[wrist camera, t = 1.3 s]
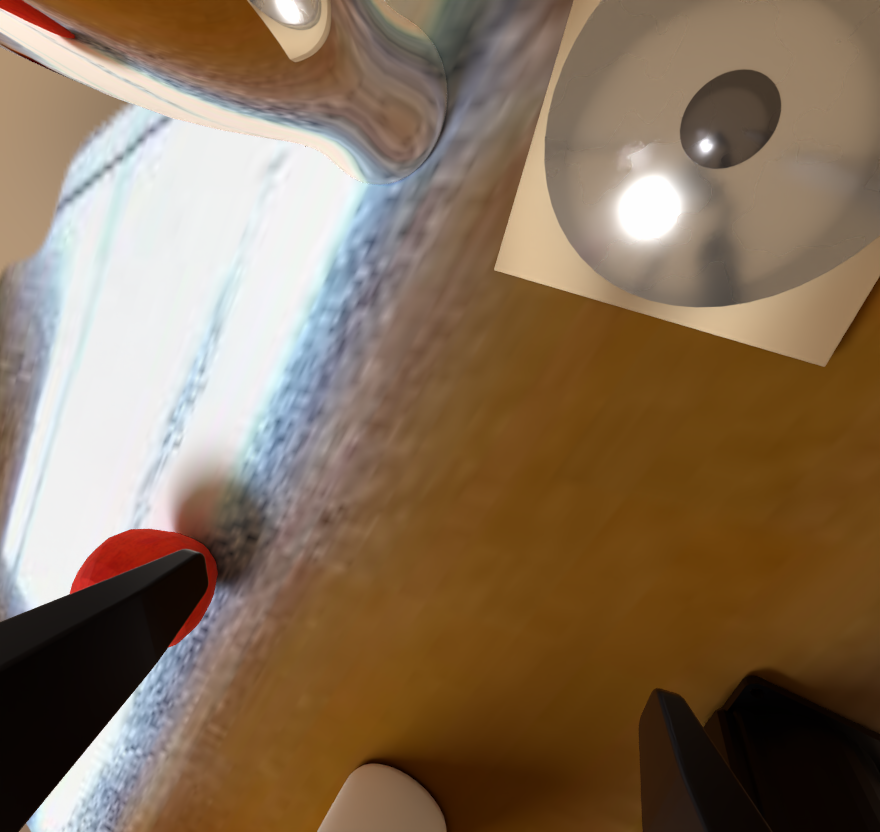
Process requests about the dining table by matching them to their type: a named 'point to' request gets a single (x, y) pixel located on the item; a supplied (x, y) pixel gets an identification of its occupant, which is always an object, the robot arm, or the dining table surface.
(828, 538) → the dining table surface
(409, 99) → the beer glass
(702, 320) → the base plate
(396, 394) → the dining table surface
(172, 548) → the apple
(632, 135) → the flange
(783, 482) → the dining table surface
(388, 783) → the milk bottle
